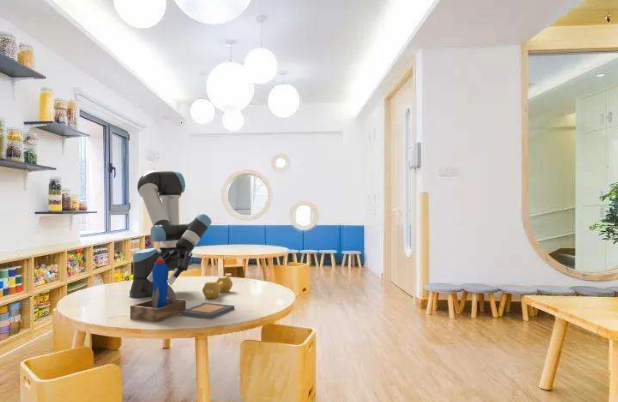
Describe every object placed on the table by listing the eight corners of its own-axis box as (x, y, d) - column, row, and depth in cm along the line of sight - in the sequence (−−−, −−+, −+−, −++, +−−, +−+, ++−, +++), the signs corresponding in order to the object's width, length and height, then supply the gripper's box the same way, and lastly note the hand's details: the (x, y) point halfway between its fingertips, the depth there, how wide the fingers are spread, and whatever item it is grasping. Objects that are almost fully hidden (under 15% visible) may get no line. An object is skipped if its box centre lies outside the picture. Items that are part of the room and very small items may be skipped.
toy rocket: (155, 319, 158) (154, 257, 158) (140, 316, 163) (139, 256, 163) (176, 313, 167) (176, 254, 167) (162, 310, 172) (161, 253, 173)
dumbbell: (217, 299, 190) (217, 283, 190) (200, 299, 192) (200, 282, 192) (234, 291, 208) (233, 275, 208) (218, 290, 210) (218, 275, 211)
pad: (180, 315, 164) (180, 311, 164) (205, 305, 179) (205, 302, 179) (210, 319, 157) (210, 315, 157) (234, 309, 172) (234, 305, 172)
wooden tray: (130, 317, 161) (130, 305, 161) (160, 308, 176) (159, 297, 176) (157, 321, 155) (157, 309, 155) (185, 311, 169) (185, 300, 169)
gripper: (211, 249, 172) (183, 289, 160) (175, 246, 186) (147, 284, 174) (201, 238, 168) (172, 279, 155) (165, 236, 182) (135, 274, 169)
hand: (159, 281), depth 165 cm, fingers open, 13 cm apart
